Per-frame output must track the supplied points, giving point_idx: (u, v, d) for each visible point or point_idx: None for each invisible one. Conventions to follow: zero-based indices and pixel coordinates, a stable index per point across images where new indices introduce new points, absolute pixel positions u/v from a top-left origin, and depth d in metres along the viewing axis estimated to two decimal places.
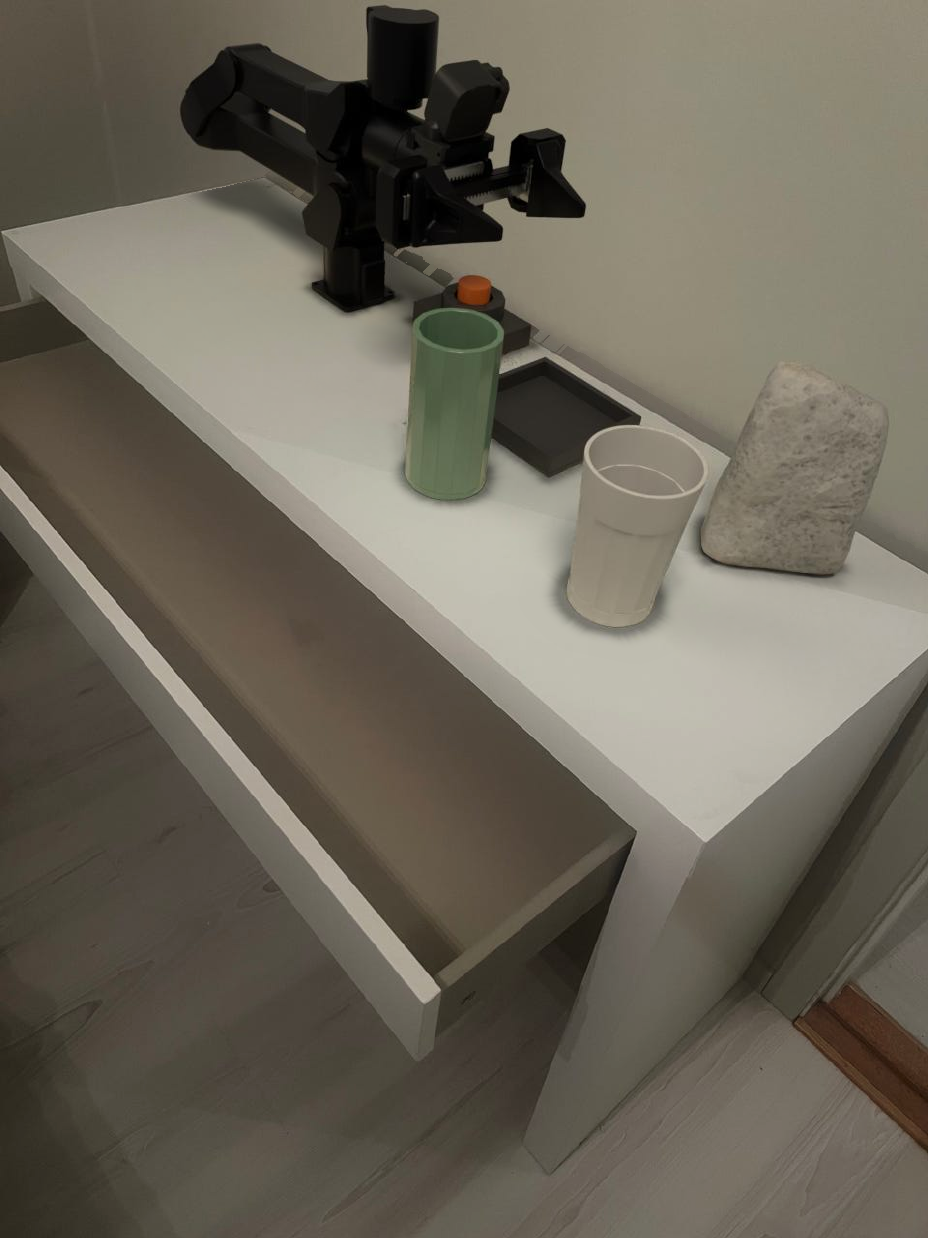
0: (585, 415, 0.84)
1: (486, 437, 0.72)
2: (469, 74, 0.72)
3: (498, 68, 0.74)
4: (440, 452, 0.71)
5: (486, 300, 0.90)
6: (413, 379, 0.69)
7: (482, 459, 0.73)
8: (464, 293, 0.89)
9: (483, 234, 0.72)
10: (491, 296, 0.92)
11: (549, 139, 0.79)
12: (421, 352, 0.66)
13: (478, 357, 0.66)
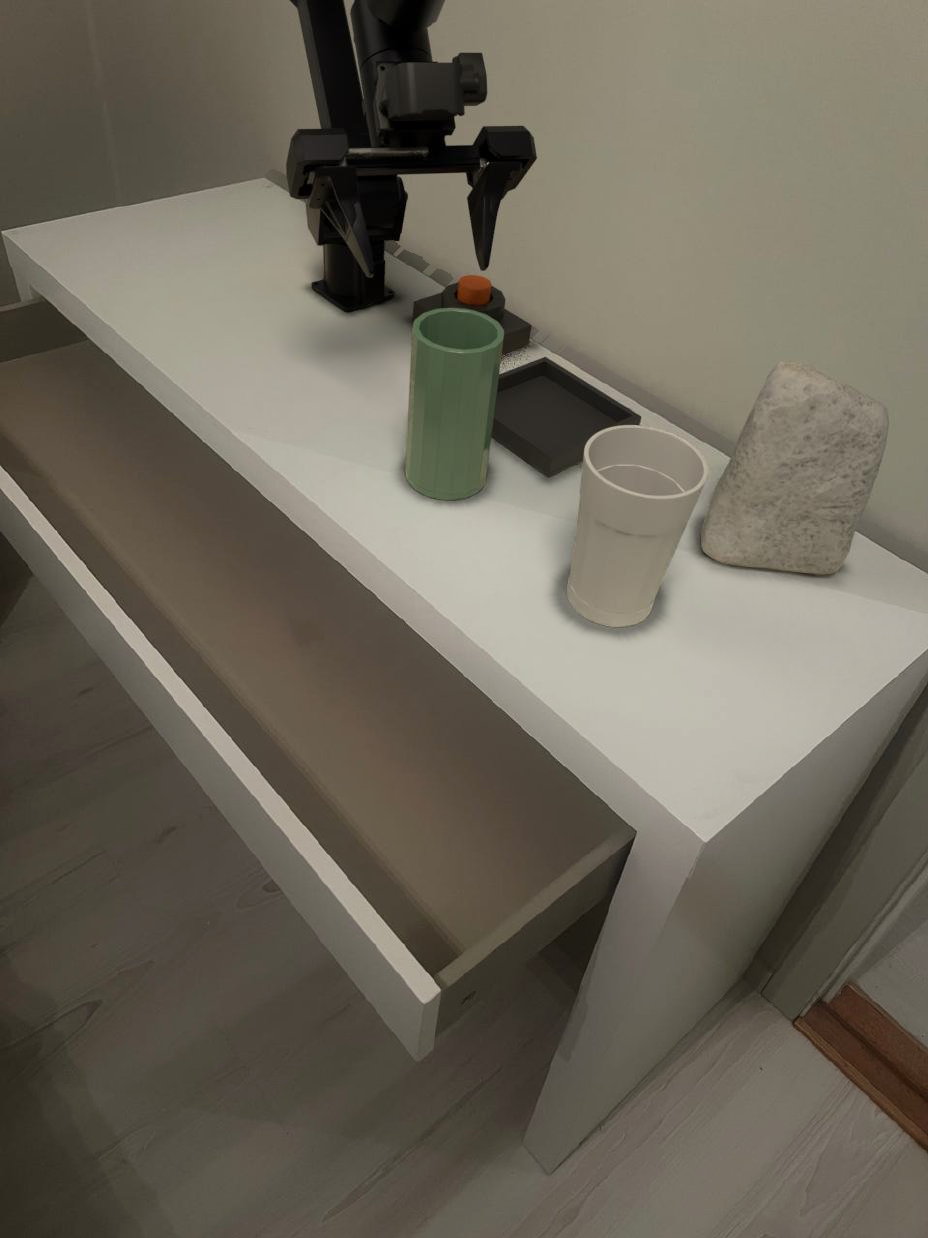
0: (585, 415, 0.84)
1: (486, 437, 0.72)
2: (430, 87, 0.64)
3: (475, 82, 0.65)
4: (440, 452, 0.71)
5: (486, 300, 0.90)
6: (413, 379, 0.69)
7: (482, 459, 0.73)
8: (464, 293, 0.89)
9: (360, 260, 0.71)
10: (491, 296, 0.92)
11: (513, 156, 0.71)
12: (421, 352, 0.66)
13: (478, 357, 0.66)
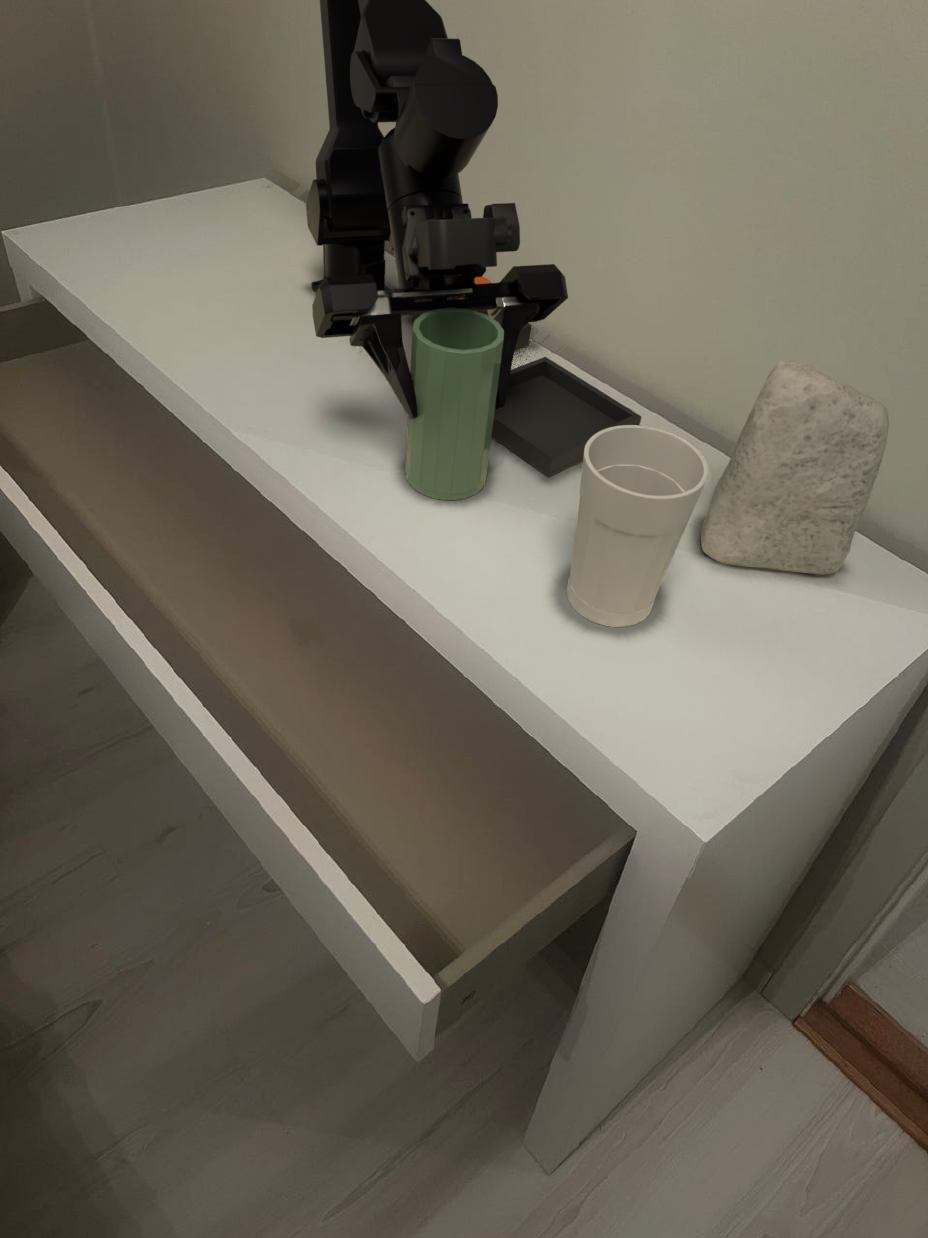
0: (585, 415, 0.84)
1: (486, 437, 0.72)
2: (462, 243, 0.63)
3: (508, 236, 0.63)
4: (440, 452, 0.71)
5: None
6: (413, 379, 0.69)
7: (482, 459, 0.73)
8: None
9: (402, 402, 0.70)
10: None
11: (544, 297, 0.70)
12: (421, 353, 0.66)
13: (478, 357, 0.66)
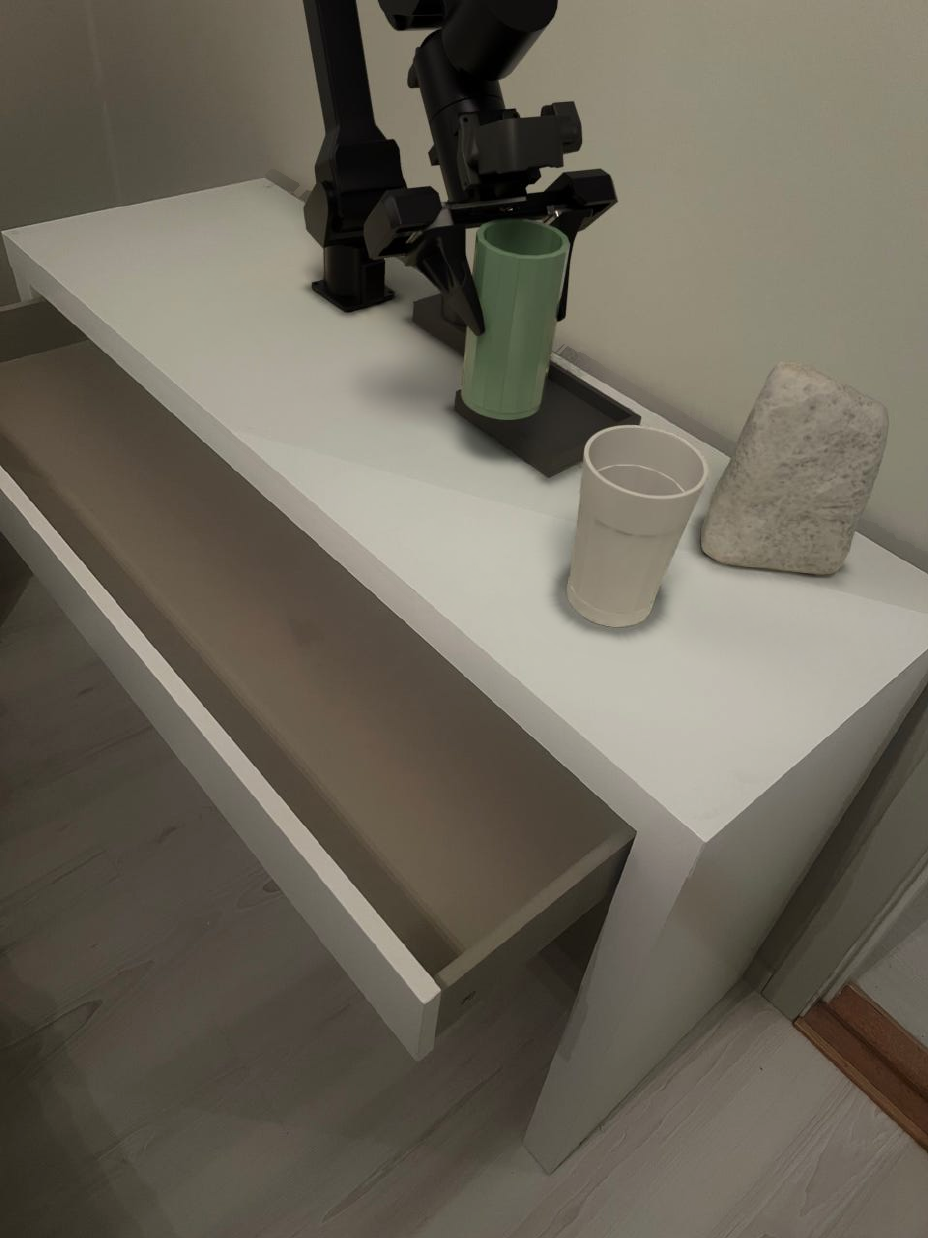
0: (585, 415, 0.84)
1: (549, 350, 0.71)
2: (533, 142, 0.61)
3: (575, 134, 0.62)
4: (508, 368, 0.70)
5: None
6: (479, 293, 0.67)
7: (545, 374, 0.72)
8: None
9: (467, 318, 0.68)
10: None
11: (597, 202, 0.69)
12: (491, 263, 0.65)
13: (551, 263, 0.64)
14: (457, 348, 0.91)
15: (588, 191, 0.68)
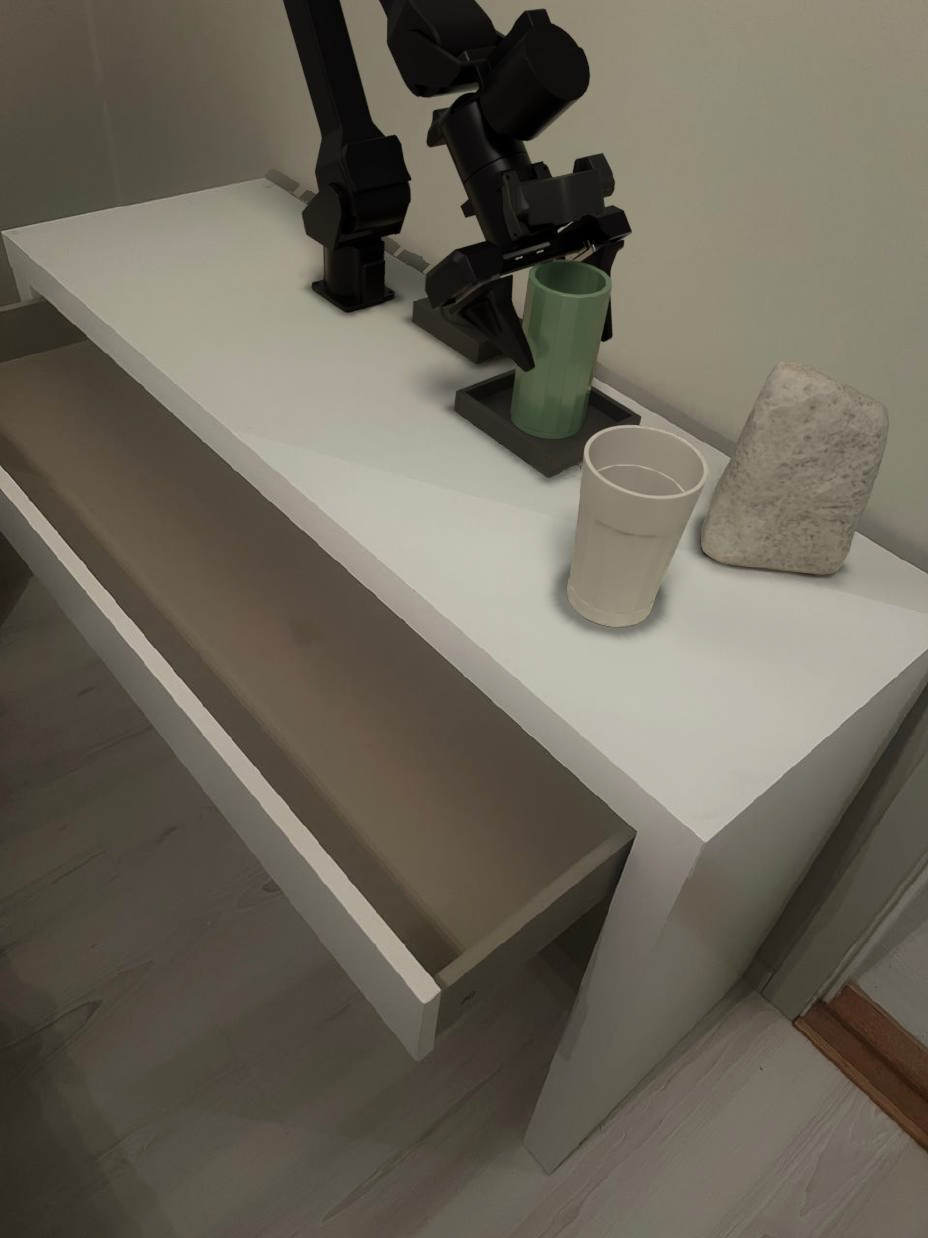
0: (585, 415, 0.84)
1: (593, 373, 0.79)
2: (583, 195, 0.69)
3: (612, 182, 0.71)
4: (564, 393, 0.77)
5: None
6: (537, 331, 0.74)
7: (589, 393, 0.80)
8: None
9: (516, 357, 0.75)
10: None
11: (618, 236, 0.77)
12: (550, 304, 0.72)
13: (603, 298, 0.73)
14: (457, 348, 0.91)
15: (610, 227, 0.77)
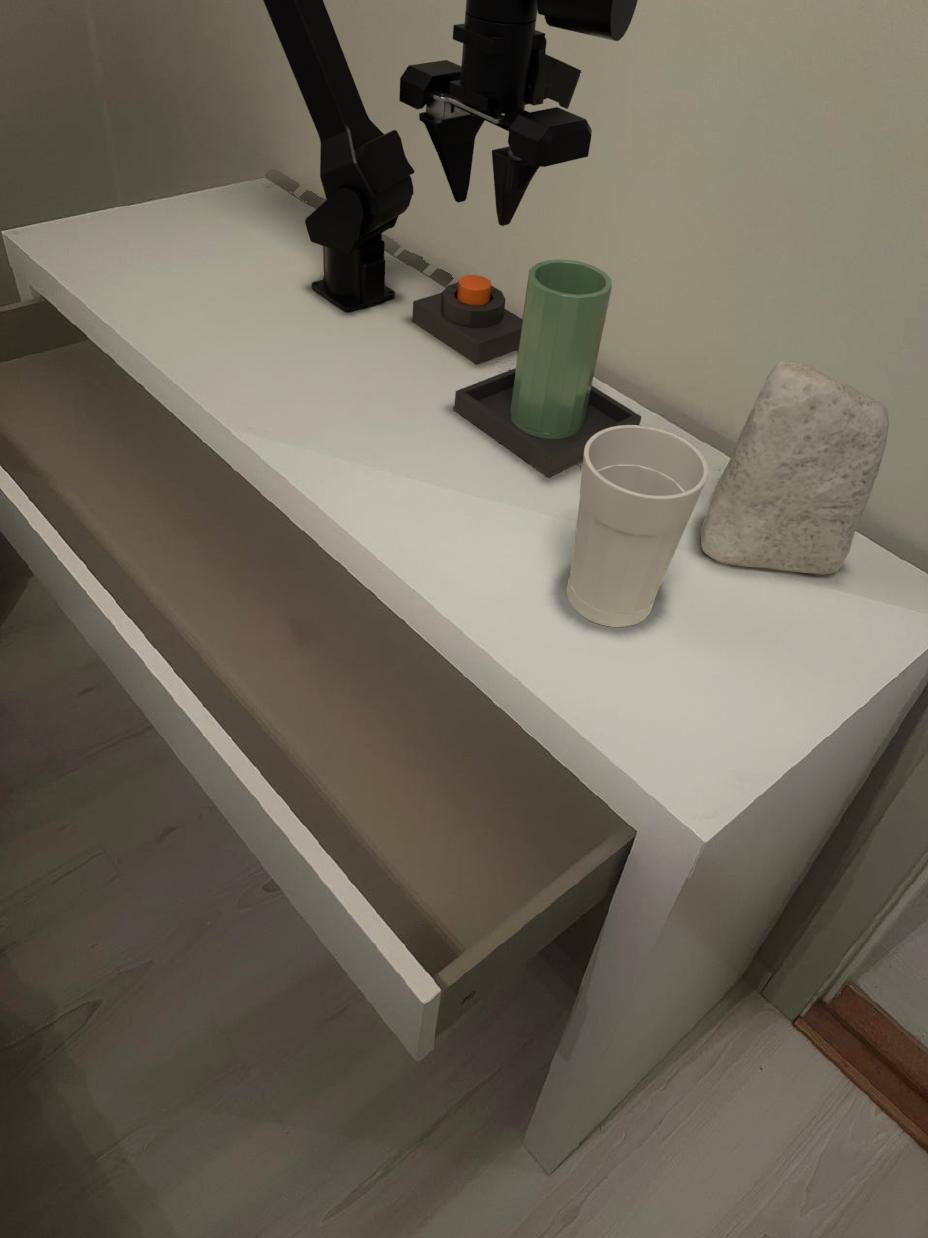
0: (585, 415, 0.84)
1: (593, 373, 0.79)
2: None
3: None
4: (564, 393, 0.77)
5: (486, 300, 0.90)
6: (537, 331, 0.74)
7: (589, 393, 0.80)
8: (464, 293, 0.89)
9: (506, 212, 0.82)
10: (491, 296, 0.92)
11: None
12: (550, 304, 0.72)
13: (603, 298, 0.73)
14: (457, 348, 0.91)
15: None
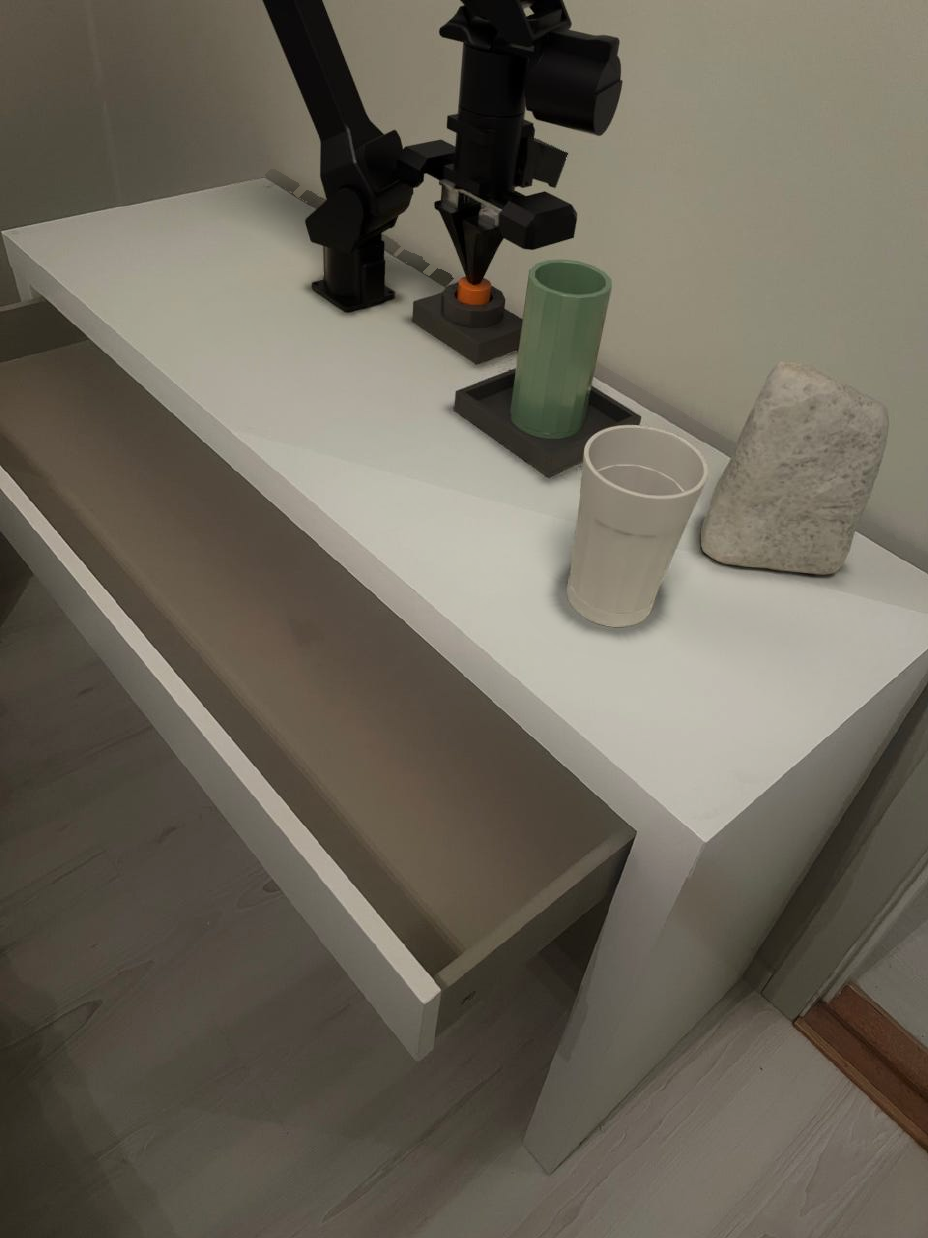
0: (585, 415, 0.84)
1: (593, 373, 0.79)
2: None
3: None
4: (564, 393, 0.77)
5: (486, 301, 0.90)
6: (537, 331, 0.74)
7: (589, 393, 0.80)
8: (464, 293, 0.89)
9: (478, 273, 0.88)
10: (491, 296, 0.92)
11: None
12: (550, 304, 0.72)
13: (603, 298, 0.73)
14: (457, 348, 0.91)
15: None
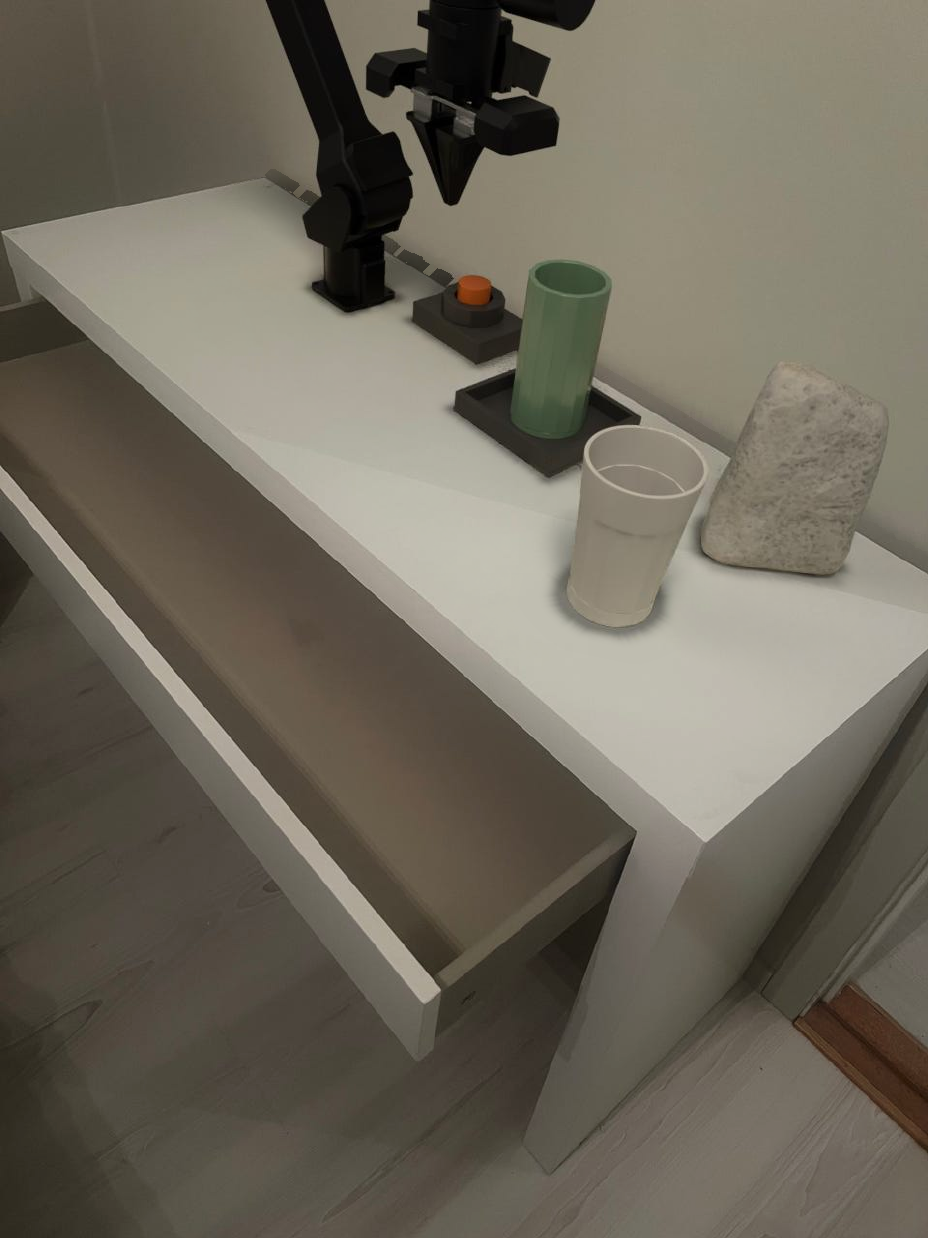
0: (585, 415, 0.84)
1: (593, 373, 0.79)
2: None
3: None
4: (564, 393, 0.77)
5: (486, 300, 0.90)
6: (537, 331, 0.74)
7: (589, 393, 0.80)
8: (464, 293, 0.89)
9: (454, 192, 0.82)
10: (491, 296, 0.92)
11: None
12: (550, 304, 0.72)
13: (603, 298, 0.73)
14: (457, 348, 0.91)
15: None
